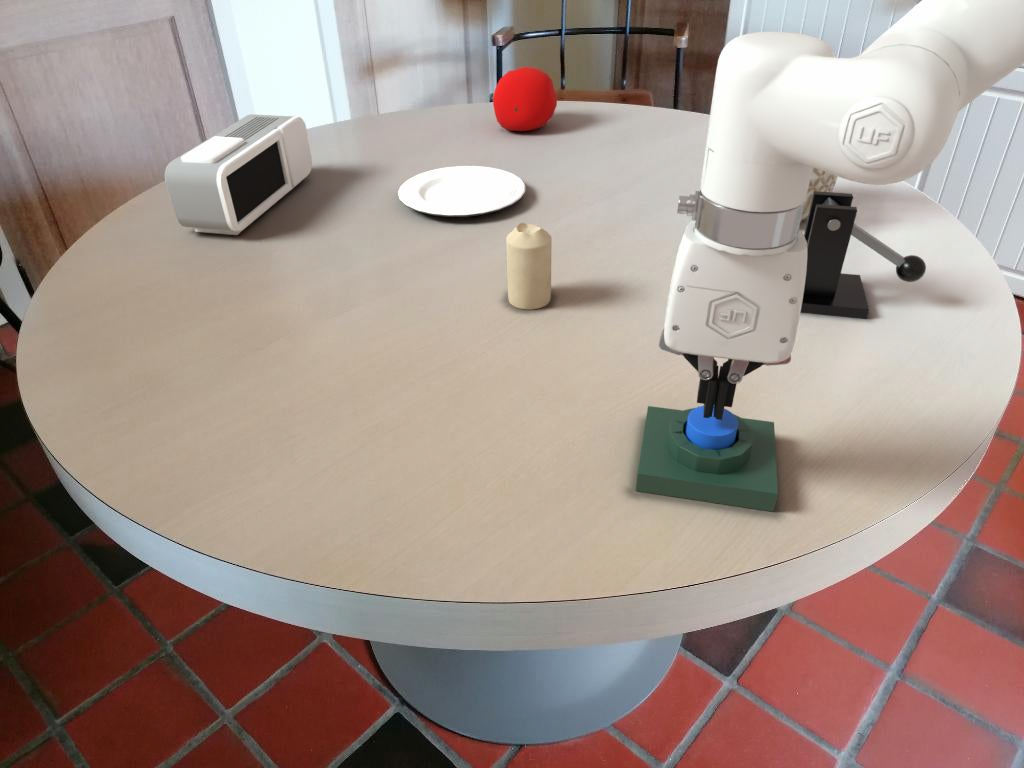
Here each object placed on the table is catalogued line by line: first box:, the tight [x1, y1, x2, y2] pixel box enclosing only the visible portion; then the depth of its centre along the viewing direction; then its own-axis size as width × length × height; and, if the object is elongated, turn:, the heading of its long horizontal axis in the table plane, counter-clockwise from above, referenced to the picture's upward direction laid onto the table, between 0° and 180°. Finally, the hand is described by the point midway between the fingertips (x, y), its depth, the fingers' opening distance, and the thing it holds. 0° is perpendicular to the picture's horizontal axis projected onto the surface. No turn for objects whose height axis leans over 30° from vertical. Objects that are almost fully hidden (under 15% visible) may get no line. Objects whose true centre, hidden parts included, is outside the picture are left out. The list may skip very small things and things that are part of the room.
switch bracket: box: [800, 191, 870, 320], centre depth 92 cm, size 12×9×13 cm
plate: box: [397, 165, 526, 218], centre depth 123 cm, size 21×21×2 cm
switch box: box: [635, 405, 779, 512], centre depth 69 cm, size 12×10×4 cm
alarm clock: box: [164, 113, 313, 236], centre depth 120 cm, size 27×9×12 cm, turn 167°
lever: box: [822, 197, 927, 283], centre depth 90 cm, size 15×3×3 cm, turn 76°
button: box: [686, 405, 738, 450], centre depth 68 cm, size 4×4×2 cm
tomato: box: [492, 66, 558, 132], centre depth 150 cm, size 13×13×13 cm
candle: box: [505, 222, 553, 310], centre depth 93 cm, size 6×6×10 cm
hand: (712, 409), depth 67 cm, fingers closed
